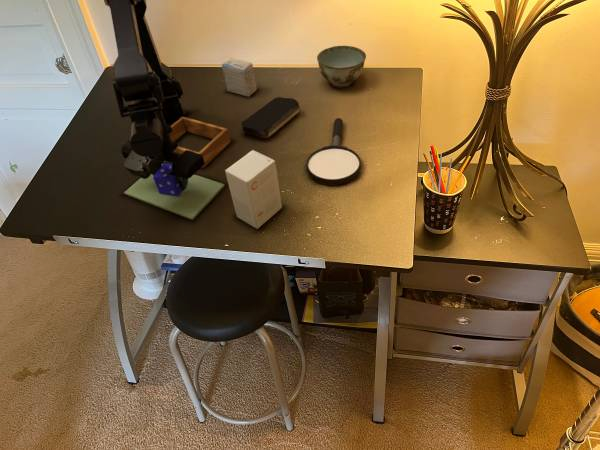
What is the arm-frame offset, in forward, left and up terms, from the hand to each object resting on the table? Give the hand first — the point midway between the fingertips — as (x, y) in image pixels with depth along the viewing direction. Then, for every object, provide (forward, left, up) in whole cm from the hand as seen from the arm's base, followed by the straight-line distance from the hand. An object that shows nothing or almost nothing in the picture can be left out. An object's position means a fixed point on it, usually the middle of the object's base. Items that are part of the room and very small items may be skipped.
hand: (172, 185), depth 105 cm
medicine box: (-10, +43, -2) cm, 44 cm away
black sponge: (+7, +32, -2) cm, 33 cm away
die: (0, 0, -1) cm, 1 cm away
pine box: (-6, +15, -2) cm, 16 cm away
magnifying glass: (+28, +27, -2) cm, 39 cm away
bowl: (+15, +58, -2) cm, 60 cm away
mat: (0, 0, -2) cm, 2 cm away
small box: (+22, +2, -2) cm, 22 cm away
